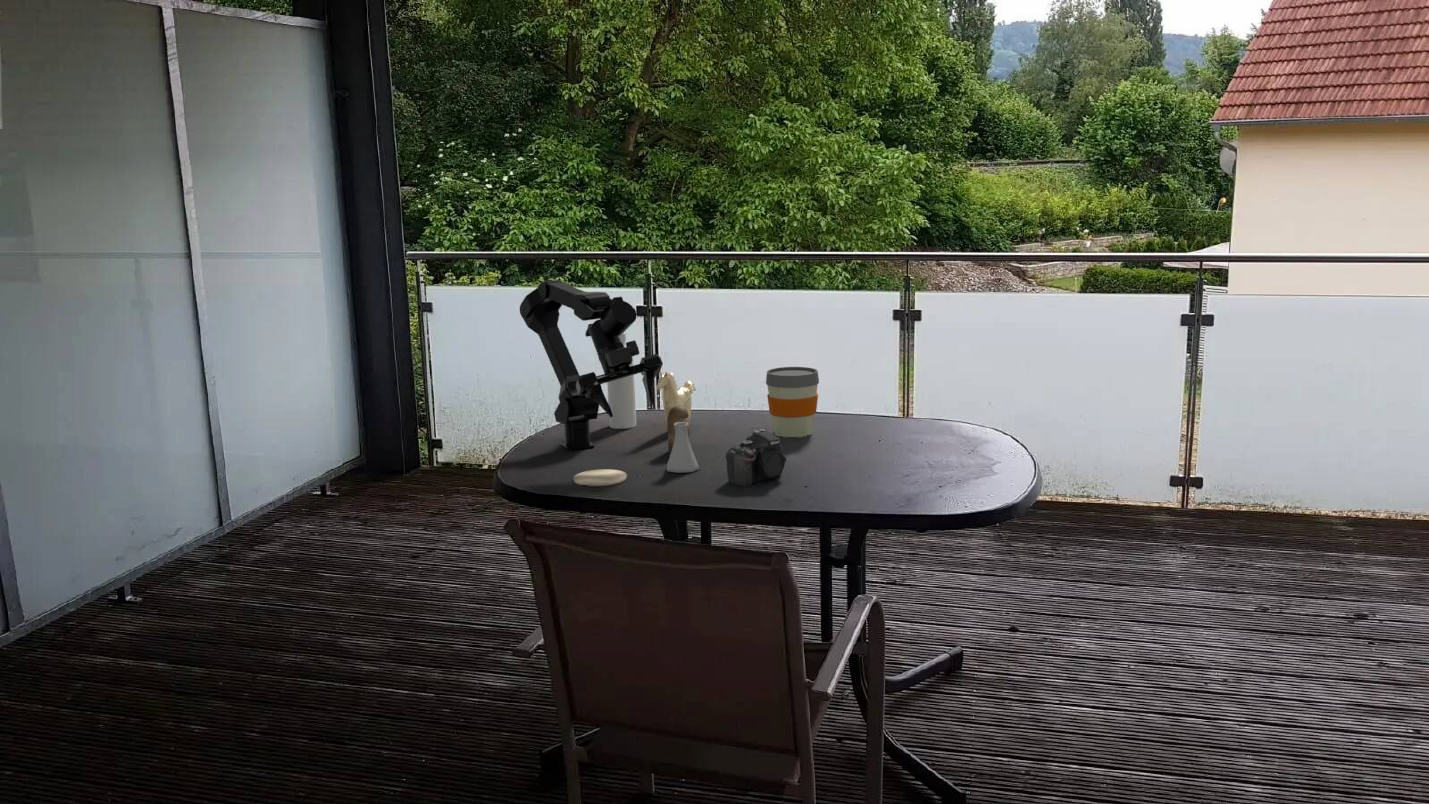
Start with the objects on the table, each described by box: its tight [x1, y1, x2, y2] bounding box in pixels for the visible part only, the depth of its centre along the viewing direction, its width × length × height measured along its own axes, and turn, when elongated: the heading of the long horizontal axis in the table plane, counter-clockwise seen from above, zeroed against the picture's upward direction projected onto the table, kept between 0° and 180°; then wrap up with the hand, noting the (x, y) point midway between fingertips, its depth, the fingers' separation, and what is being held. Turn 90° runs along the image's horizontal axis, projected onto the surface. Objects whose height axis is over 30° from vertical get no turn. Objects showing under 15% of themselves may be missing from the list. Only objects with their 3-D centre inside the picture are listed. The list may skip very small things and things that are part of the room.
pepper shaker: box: [666, 406, 691, 454], centre depth 257 cm, size 5×5×10 cm
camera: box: [725, 428, 787, 487], centre depth 233 cm, size 13×10×10 cm
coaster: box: [573, 468, 628, 487], centre depth 237 cm, size 11×11×1 cm
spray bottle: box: [606, 331, 637, 430], centre depth 283 cm, size 7×7×25 cm
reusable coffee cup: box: [765, 366, 820, 438], centre depth 271 cm, size 13×12×15 cm
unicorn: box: [656, 370, 697, 427], centre depth 277 cm, size 20×4×17 cm, turn 156°
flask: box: [665, 422, 700, 474], centre depth 242 cm, size 7×7×10 cm
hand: (632, 410), depth 245 cm, fingers open, 9 cm apart
